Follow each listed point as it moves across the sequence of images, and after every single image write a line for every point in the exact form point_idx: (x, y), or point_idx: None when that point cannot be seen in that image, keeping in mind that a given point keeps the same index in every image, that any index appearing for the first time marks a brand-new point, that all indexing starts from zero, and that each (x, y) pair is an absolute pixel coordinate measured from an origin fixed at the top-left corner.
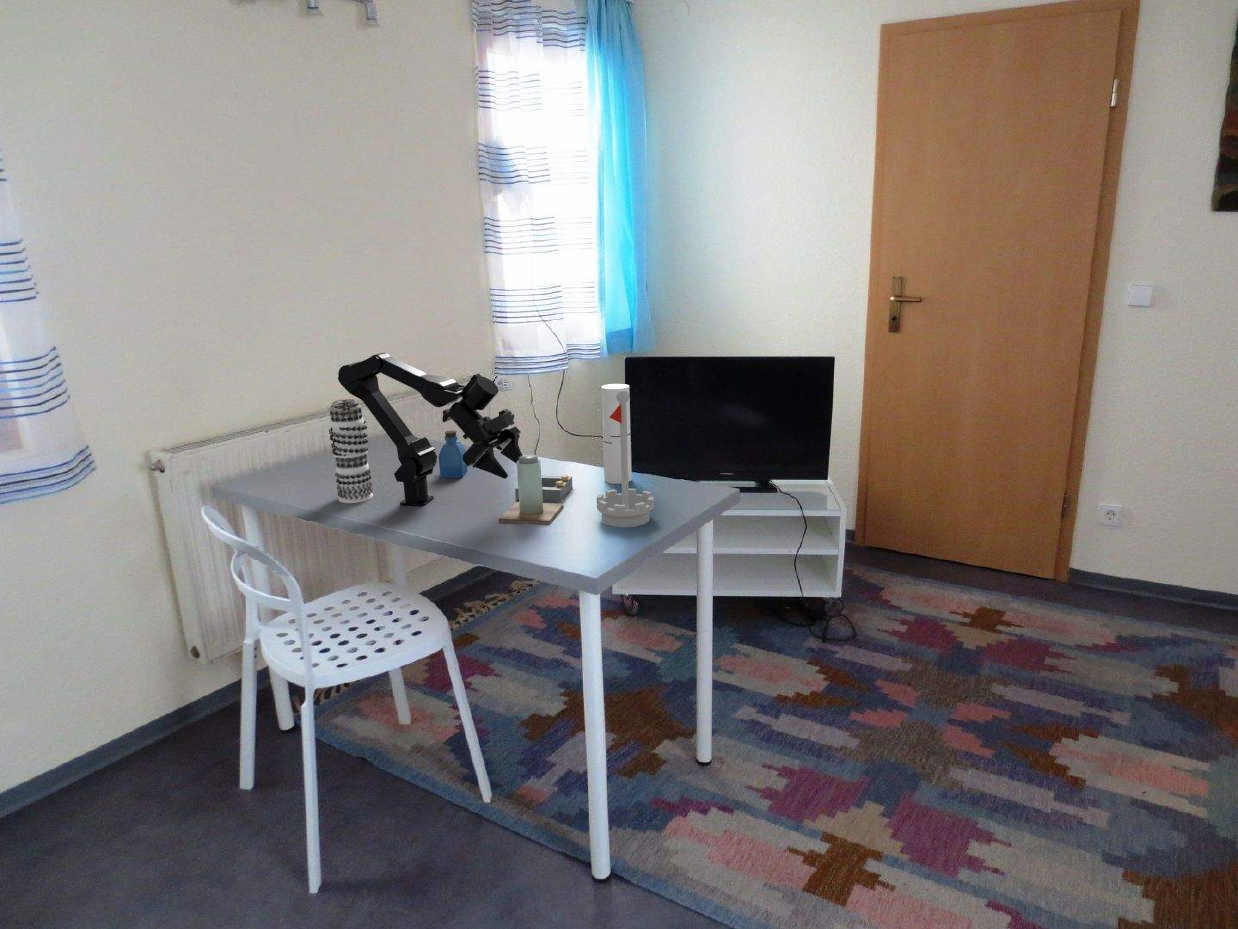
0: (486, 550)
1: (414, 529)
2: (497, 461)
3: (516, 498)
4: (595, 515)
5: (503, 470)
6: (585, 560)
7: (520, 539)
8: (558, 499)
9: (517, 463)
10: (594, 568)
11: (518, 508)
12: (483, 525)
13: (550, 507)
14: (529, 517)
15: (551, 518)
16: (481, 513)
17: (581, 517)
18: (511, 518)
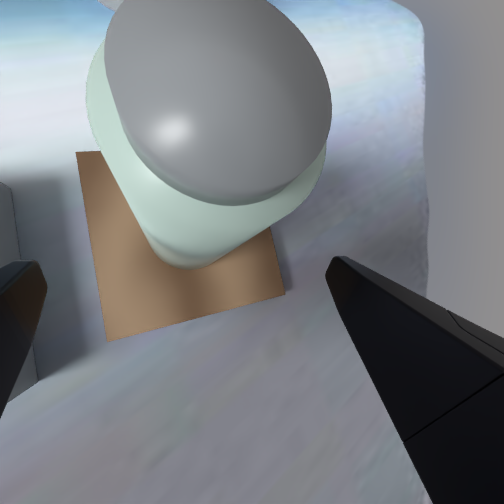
0: (421, 224)
1: (406, 482)
2: (456, 331)
3: (33, 380)
4: None
5: (377, 276)
6: (384, 36)
7: (355, 182)
8: (5, 193)
9: (310, 192)
10: (401, 19)
11: (179, 287)
12: (318, 320)
13: None
14: None
15: None
16: (235, 399)
17: None
18: (272, 258)
